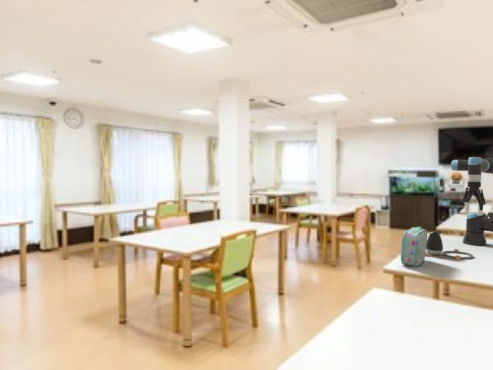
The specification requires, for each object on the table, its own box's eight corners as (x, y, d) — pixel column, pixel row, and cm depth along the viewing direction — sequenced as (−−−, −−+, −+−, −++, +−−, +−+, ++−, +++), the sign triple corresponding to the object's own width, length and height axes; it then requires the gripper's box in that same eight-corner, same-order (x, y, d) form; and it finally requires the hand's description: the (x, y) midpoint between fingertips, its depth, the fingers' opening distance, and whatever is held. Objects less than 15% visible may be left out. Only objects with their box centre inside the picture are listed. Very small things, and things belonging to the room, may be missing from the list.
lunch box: (409, 257, 250) (410, 223, 248) (427, 259, 244) (428, 225, 242) (398, 266, 228) (399, 229, 227) (417, 269, 222) (418, 231, 221)
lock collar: (441, 250, 267) (441, 247, 267) (471, 253, 260) (471, 250, 260) (442, 258, 248) (442, 254, 247) (474, 261, 240) (474, 257, 240)
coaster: (424, 252, 262) (424, 251, 262) (443, 254, 258) (443, 253, 258) (424, 256, 252) (424, 255, 252) (443, 258, 248) (443, 257, 248)
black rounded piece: (446, 255, 253) (447, 231, 252) (435, 256, 248) (436, 233, 247) (433, 251, 262) (433, 229, 261) (422, 253, 257) (422, 230, 256)
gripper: (457, 179, 265) (456, 210, 267) (481, 182, 241) (480, 216, 242) (468, 179, 266) (467, 210, 268) (493, 182, 241) (491, 216, 243)
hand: (473, 213), depth 255 cm, fingers open, 13 cm apart
